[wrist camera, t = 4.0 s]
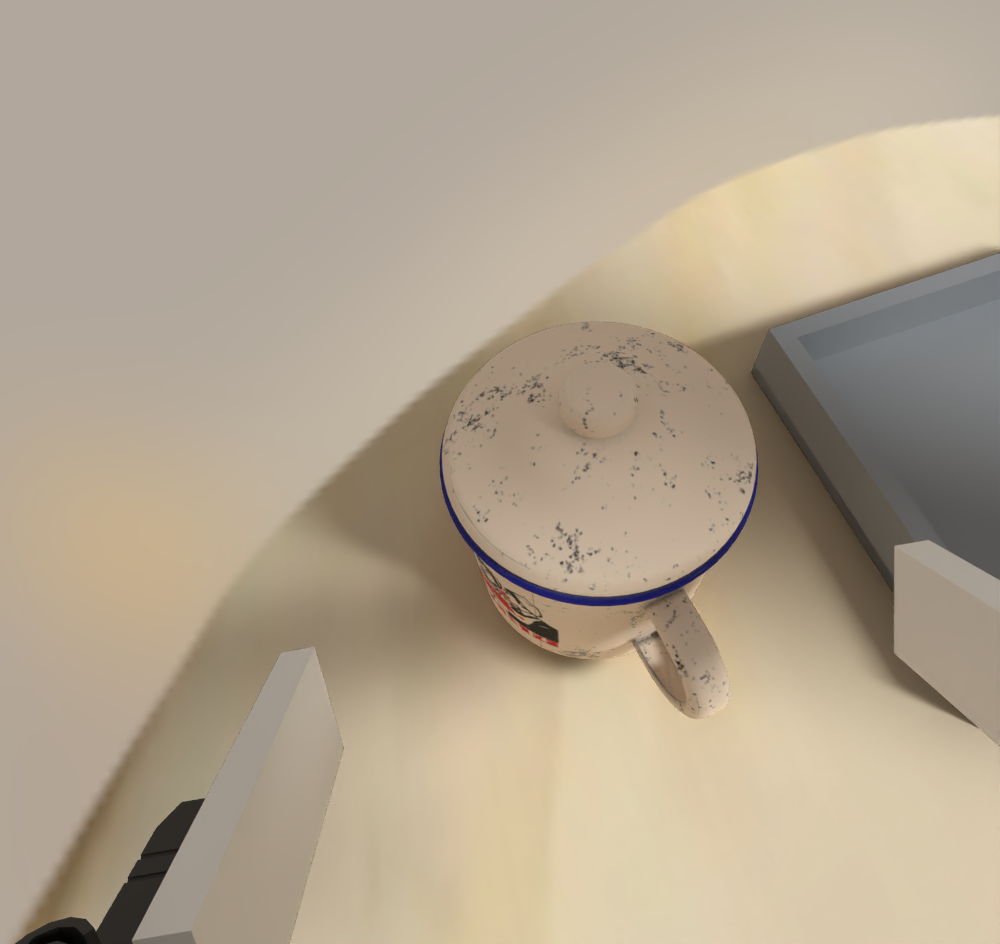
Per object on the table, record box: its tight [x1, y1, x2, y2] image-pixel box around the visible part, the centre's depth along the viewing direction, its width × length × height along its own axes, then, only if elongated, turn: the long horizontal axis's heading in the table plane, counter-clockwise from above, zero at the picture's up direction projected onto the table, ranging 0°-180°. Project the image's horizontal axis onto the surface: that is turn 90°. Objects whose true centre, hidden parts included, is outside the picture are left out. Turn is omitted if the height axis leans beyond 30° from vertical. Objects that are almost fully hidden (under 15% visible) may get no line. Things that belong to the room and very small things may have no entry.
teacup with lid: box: [440, 322, 758, 719], centre depth 20 cm, size 12×9×12 cm
